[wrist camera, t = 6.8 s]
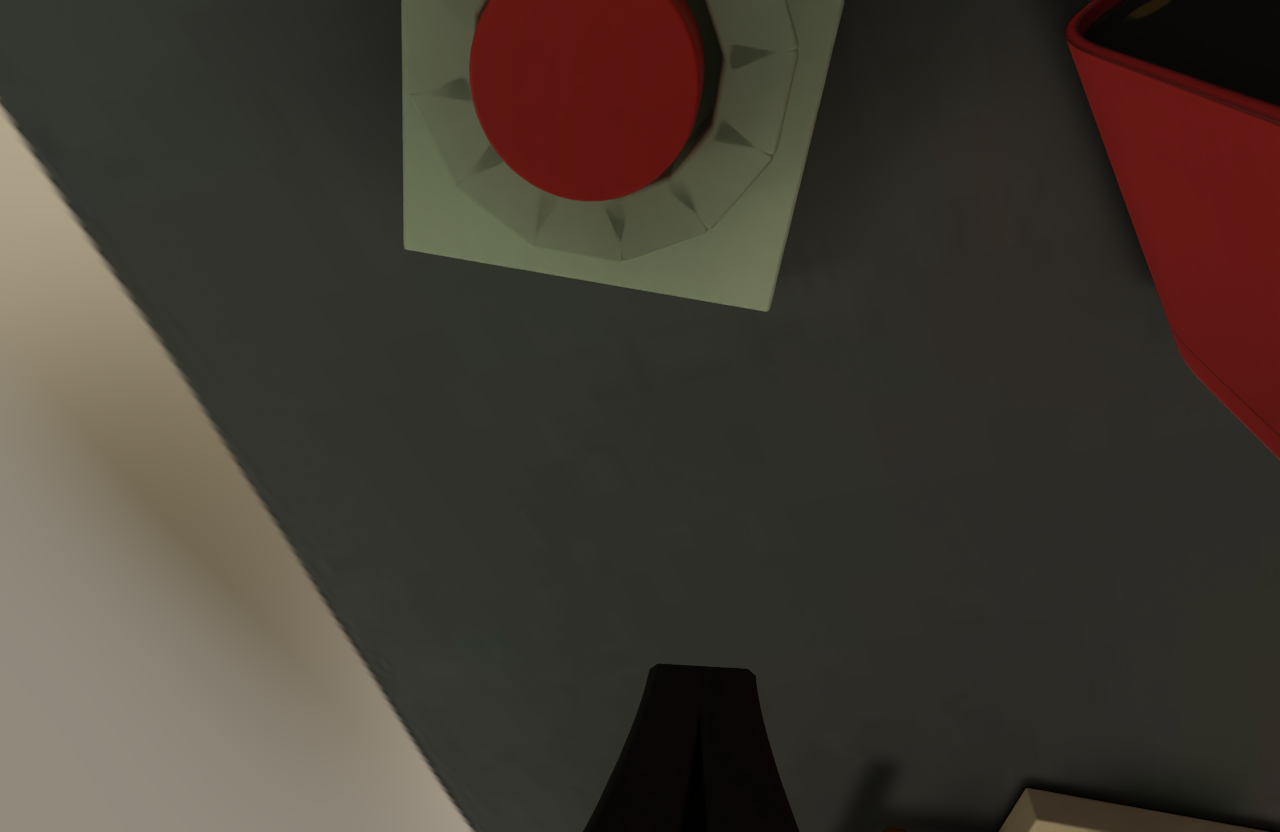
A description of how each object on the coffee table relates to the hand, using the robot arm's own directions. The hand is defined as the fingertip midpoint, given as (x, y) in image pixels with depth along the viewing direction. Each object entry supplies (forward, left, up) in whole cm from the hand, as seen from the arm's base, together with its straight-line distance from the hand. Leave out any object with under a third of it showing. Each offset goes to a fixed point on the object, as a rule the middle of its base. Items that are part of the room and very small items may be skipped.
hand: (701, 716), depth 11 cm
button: (+3, -7, -7) cm, 11 cm away
